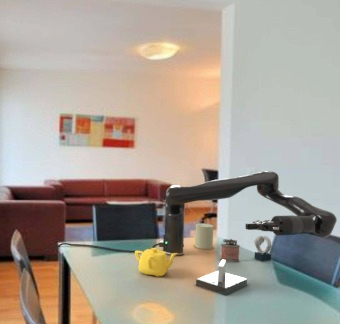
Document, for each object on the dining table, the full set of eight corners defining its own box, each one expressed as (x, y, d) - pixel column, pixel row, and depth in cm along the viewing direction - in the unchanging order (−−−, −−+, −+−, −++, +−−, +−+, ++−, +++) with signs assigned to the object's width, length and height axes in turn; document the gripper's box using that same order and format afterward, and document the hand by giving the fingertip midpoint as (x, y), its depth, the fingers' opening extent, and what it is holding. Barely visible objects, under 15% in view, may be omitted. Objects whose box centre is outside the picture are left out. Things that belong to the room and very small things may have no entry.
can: (192, 244, 206) (192, 222, 206) (208, 244, 207) (209, 222, 207) (198, 249, 197) (199, 226, 197) (215, 249, 198) (216, 226, 197)
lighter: (237, 260, 180) (238, 238, 179) (239, 262, 176) (240, 240, 176) (219, 259, 180) (220, 238, 180) (221, 261, 177) (222, 239, 177)
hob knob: (222, 282, 141) (222, 265, 141) (217, 281, 142) (218, 265, 142) (225, 275, 149) (226, 259, 149) (221, 275, 150) (221, 259, 149)
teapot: (162, 267, 166) (163, 243, 166) (177, 277, 154) (178, 251, 153) (133, 269, 162) (133, 245, 162) (146, 279, 150) (147, 253, 149)
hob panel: (226, 295, 135) (226, 288, 135) (195, 285, 145) (195, 278, 145) (247, 285, 146) (248, 278, 146) (217, 276, 156) (217, 270, 155)
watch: (260, 256, 187) (261, 234, 186) (273, 261, 179) (274, 237, 179) (251, 257, 185) (252, 234, 184) (264, 262, 177) (265, 238, 177)
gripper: (299, 238, 142) (257, 239, 139) (275, 232, 155) (236, 233, 152) (299, 217, 143) (257, 219, 139) (275, 213, 156) (236, 214, 152)
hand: (246, 226), depth 146 cm, fingers closed
